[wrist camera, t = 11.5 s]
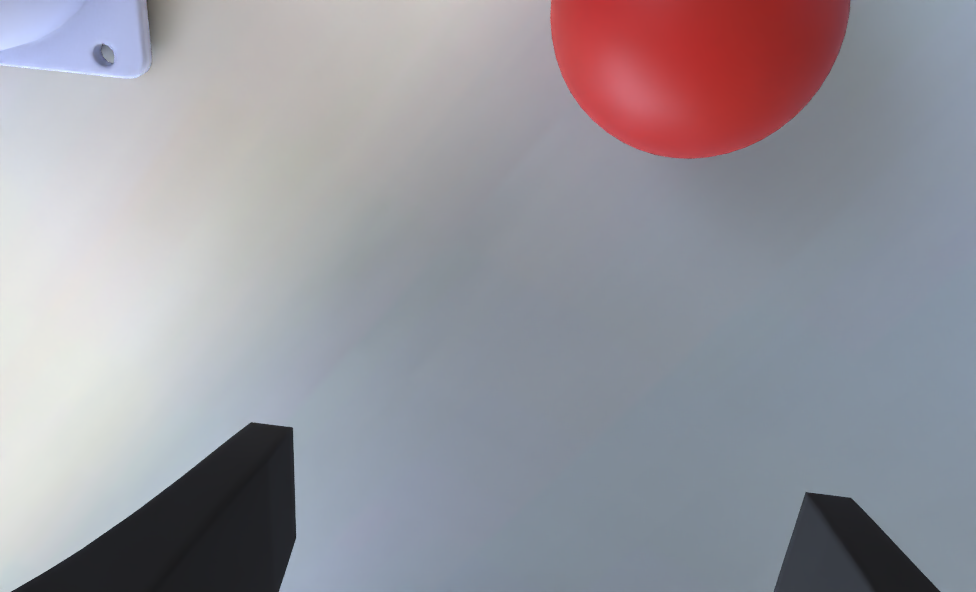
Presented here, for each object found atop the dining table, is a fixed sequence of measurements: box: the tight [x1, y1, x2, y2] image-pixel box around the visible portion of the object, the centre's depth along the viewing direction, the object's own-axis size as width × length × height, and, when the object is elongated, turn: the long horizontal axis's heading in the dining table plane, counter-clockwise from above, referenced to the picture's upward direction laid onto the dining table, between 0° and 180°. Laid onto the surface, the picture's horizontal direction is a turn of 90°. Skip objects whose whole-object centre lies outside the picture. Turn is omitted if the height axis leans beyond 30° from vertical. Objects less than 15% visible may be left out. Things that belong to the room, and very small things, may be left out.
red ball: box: [550, 0, 850, 159], centre depth 16 cm, size 5×5×6 cm
